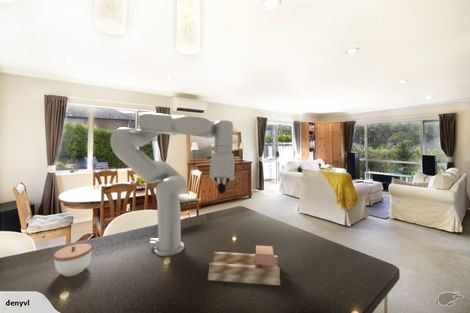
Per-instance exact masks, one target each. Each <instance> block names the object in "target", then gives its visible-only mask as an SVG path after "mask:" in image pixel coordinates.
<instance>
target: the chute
mask: <svg viewBox="0 0 470 313" xmlns="http://www.w3.org/2000/svg"><path fill="white" fill-rule="evenodd" d="M213 252H214V253H213V262H209V264H208V274H207V280H208V281H218V282H219V281H220V282H228V283H230V282H232V283H241V284H242V283H245V284H256V285H257V284H258V285H267V286H268V285H269V286H281V276H280V275H281V274H280V272H281V269H280V268H281V267H279V266H278V259H279V258H278V255H274V266H273V267H268V266H262V265H256V252H255V253H245V252H244V253H242V252H241V253H240V252H229V251H213Z"/></svg>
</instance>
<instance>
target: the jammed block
mask: <svg viewBox="0 0 470 313" xmlns="http://www.w3.org/2000/svg"><path fill="white" fill-rule="evenodd" d="M255 253H256V265H262V266H268V267H273V266H274V247H273V246H271V245H255Z"/></svg>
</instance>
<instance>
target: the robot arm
mask: <svg viewBox="0 0 470 313" xmlns="http://www.w3.org/2000/svg"><path fill="white" fill-rule="evenodd" d="M137 126H138V128H131V127H119V128H116V129H114V131H113V132H112V133H111V136H110V146H111V150H112V152H113V154H115V156H116V157H117V158H118V159H119V160H120V161H121V162H122V163H124V164H125V165H126V166H127V167H128V168H130V170H131V171H133V172H134V173H135V174H136V175H137V176H139V178H141V179H142V180H143V181H144V182H146V183H149V184H154V183H156V182H157V185H156V187H155V198H156V203H157V238H156V237H151V238H150V239H149V245H151V246H154V250H153V252H154V253H155V255H157V256H162V257H168V256H169V257H170V256H174V255H177V254H179V253H181V252H182V251H183V250H184V249H185V243H184V242H183V241H182V240H181V239H182V238H181V237H182V236H181V235H182V234H181V233H182V231H181V221H182V220H181V203H180V195H182V194H183V193H184V192H185V191H186V189H187V187H188V186H187V184H188V183H187V180H186V179H185V178H184V177H183V176H182V174H180V173H179V172H178V171H177V170H175V168H173V166H171V165H170V164H169V163H167V162H165V161H163V160H153V159H151V158H150V157H149V156H147V154H146V153H144V151H142V150H140V149H138V148H142V147H144V146H146V145H147V144H148V143H150V142H151V141H153V140H154V139H155V138H156V137H158V136H159V135H160V134H164V135H171V136H177V135H184V136H193V137H200V138H205V139H213V138H214V146H211V147H210V150H211V151H213V153H211V156H210V165H209V179H211V180H213V181H215V182H216V183H217V192H218V194H220V195H221V194H222V195H223V194H225V192H226V189H227V188H226V186H227V183H229V182H230V181H234V180H235V179H236V177H235V172H236V171H235V170H236V169H235V167H236V166H235V154H234V153H233V139H234V138H233V136H234V135H233V133H234V123H233V122H232V121H230V120H222V119H221V120H216V121H212V120H209V119H208V118H205V117H200V116H192V115H191V116H190V115H178V114H166V113H159V112H151V111H149V112H147V111H145V112H142V113H140V114H139V115H138V117H137ZM222 178H223V180H222Z"/></svg>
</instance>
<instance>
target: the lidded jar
mask: <svg viewBox="0 0 470 313" xmlns="http://www.w3.org/2000/svg"><path fill="white" fill-rule="evenodd" d="M92 249H93V247H92V245H91V244H90V243H77V244H71V245H68V246H65V247H63V248H61V249H58V250H56V252H55V253H53V260H54V266H55V269H56V271H57V272H58V273H59V274H60V275H63V277H73V276H77V275H79V274H81V273H82V272H83V271H85V269H86V268H87V267H88V265H89V264H90V261H91V259H92Z"/></svg>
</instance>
